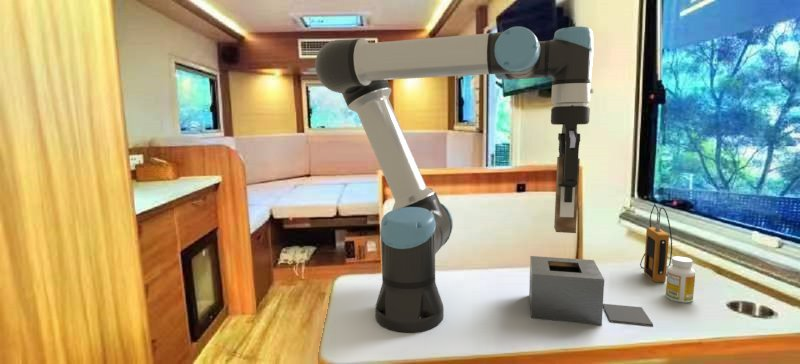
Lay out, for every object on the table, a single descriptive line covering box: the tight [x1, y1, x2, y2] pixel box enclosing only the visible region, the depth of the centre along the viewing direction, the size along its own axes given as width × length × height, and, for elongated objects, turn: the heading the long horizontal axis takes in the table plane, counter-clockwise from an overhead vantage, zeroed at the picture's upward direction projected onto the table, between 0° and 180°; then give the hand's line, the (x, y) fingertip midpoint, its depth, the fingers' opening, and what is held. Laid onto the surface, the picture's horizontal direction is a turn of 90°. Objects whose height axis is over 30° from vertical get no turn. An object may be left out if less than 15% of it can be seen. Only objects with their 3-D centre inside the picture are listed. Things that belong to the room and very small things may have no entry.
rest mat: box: [603, 303, 654, 327], centre depth 89 cm, size 8×8×1 cm
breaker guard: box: [528, 255, 605, 326], centre depth 92 cm, size 14×12×10 cm
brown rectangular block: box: [553, 156, 581, 234], centre depth 89 cm, size 4×4×16 cm
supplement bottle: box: [665, 255, 696, 304], centre depth 96 cm, size 5×5×10 cm
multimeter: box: [639, 203, 673, 283], centre depth 107 cm, size 15×10×20 cm
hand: (565, 214), depth 89 cm, fingers closed on brown rectangular block, 4 cm apart
